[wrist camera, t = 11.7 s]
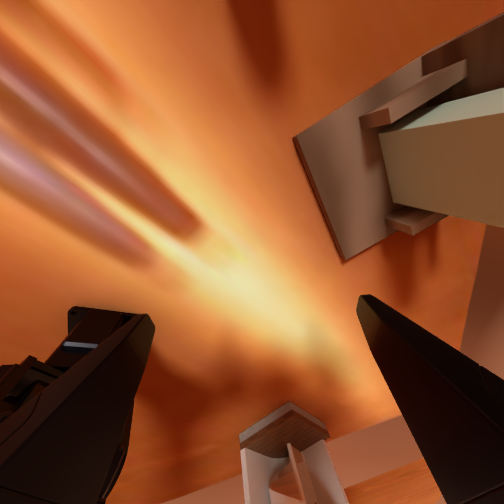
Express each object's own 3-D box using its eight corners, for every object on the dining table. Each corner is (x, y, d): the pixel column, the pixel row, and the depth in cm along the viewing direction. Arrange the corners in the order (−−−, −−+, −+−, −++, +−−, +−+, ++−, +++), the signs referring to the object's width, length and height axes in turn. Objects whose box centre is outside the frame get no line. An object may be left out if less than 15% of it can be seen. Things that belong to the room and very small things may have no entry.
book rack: (340, 256, 22) (400, 302, 15) (292, 137, 16) (351, 119, 9) (446, 195, 21) (566, 213, 14) (433, 47, 15) (621, -52, 8)
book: (393, 202, 19) (666, 266, 8) (377, 133, 16) (774, 65, 5) (427, 182, 19) (765, 216, 7) (417, 109, 16) (942, -27, 4)
